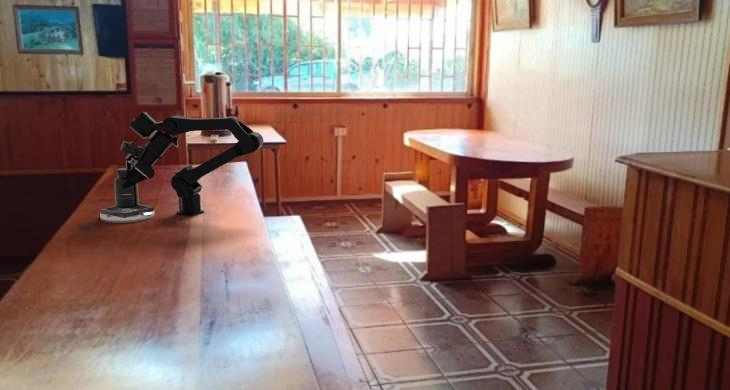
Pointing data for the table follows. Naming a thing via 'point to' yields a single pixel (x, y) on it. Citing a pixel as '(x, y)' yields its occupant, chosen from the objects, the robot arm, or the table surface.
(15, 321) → the table surface
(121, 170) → the supplement bottle
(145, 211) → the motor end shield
